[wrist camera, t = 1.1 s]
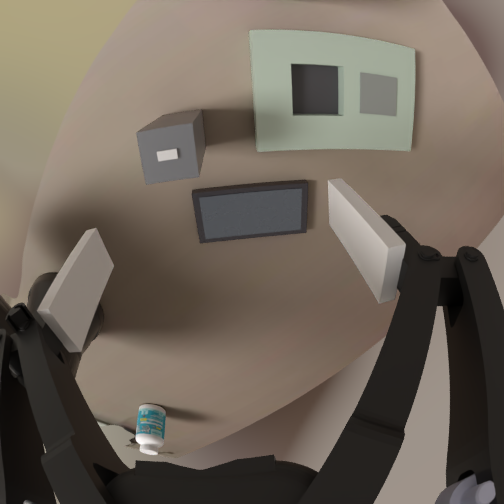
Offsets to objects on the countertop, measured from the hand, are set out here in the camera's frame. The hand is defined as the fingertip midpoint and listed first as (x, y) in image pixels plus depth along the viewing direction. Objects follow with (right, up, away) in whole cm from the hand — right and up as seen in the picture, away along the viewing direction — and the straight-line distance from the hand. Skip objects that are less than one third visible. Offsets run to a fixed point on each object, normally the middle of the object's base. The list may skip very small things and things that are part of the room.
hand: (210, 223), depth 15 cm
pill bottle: (-25, -44, +51) cm, 71 cm away
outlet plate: (+12, +17, +13) cm, 25 cm away
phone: (+2, +4, +21) cm, 22 cm away
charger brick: (-5, +12, +15) cm, 20 cm away
